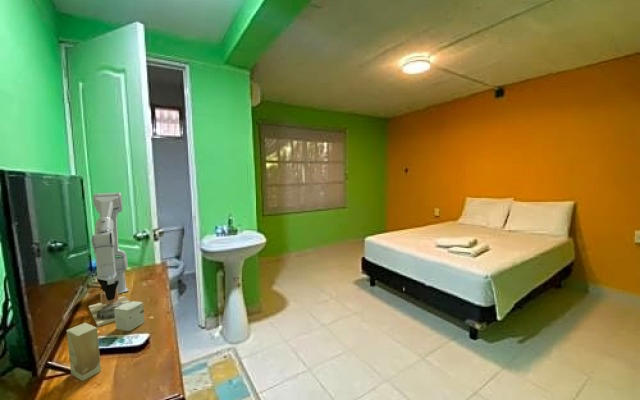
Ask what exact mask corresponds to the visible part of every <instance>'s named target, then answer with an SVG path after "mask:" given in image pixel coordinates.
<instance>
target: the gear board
mask: <svg viewBox="0 0 640 400" xmlns="http://www.w3.org/2000/svg"><path fill="white" fill-rule="evenodd" d="M118 298H119V300H118V301H116V302H114V303H110V304H107V305H106V304H103V305H102V303H101V302H98V303H94V304H90V305H88V309H89V312H90V314H91V316H92V319H93V321H94V322H95V324H96V328H98V327H101V326H104V325H107V324H110V323H113V322H115V313H114V308H116V307H119V306H121V305H122V304H125V303H127V302H129V301H130V300H129V299H128V298H127V297H126V296H125V295H124V296H120V297H119V296H118Z"/></svg>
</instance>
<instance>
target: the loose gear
mask: <svg viewBox="0 0 640 400" xmlns="http://www.w3.org/2000/svg"><path fill="white" fill-rule="evenodd" d="M99 296H100V303H102V305H103V304H106V305H107V304H110V303H114V302H116V301H118V300H119V294H118V290H117V289H116V293H115V298H114V299H113V300H109V301H108V300H107V298H106V295H105V292H104V291H103V290H102V291H101V292H100V293H99Z"/></svg>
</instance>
